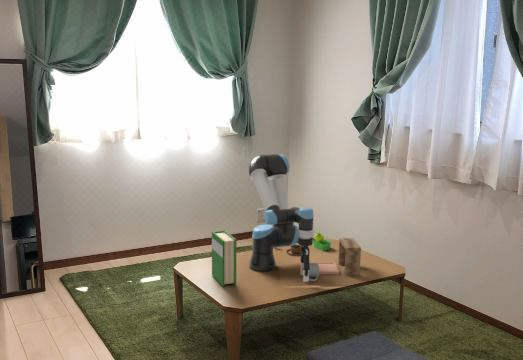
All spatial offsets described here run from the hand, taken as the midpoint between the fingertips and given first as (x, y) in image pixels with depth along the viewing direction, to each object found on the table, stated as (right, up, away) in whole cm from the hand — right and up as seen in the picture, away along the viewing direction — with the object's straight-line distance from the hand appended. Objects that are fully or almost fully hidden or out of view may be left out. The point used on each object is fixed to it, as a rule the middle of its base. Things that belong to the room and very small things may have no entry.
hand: (304, 278), depth 274 cm
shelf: (+26, +2, +15) cm, 30 cm away
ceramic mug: (0, 0, +1) cm, 1 cm away
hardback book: (-43, -1, -2) cm, 43 cm away
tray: (+10, +2, +14) cm, 18 cm away
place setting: (-4, +7, +46) cm, 47 cm away
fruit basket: (+15, +8, +52) cm, 55 cm away
